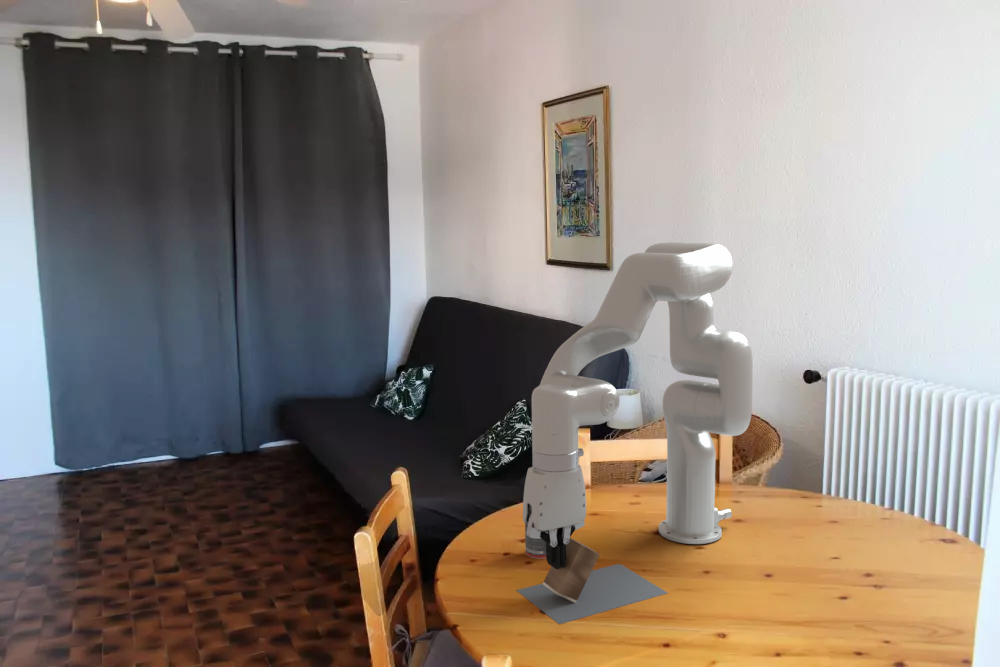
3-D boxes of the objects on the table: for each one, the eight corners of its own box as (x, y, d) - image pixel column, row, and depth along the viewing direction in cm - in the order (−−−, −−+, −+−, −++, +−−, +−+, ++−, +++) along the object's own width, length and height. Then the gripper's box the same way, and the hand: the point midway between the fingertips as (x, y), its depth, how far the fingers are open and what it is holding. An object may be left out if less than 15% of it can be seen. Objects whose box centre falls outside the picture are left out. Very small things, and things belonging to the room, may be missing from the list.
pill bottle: (552, 562, 159) (552, 512, 158) (523, 560, 160) (522, 510, 159) (556, 550, 165) (556, 501, 163) (528, 548, 166) (527, 500, 164)
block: (561, 592, 145) (585, 545, 146) (575, 603, 141) (600, 554, 142) (542, 584, 143) (566, 536, 144) (556, 594, 139) (581, 544, 140)
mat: (619, 566, 157) (619, 563, 156) (668, 596, 144) (668, 592, 144) (516, 593, 146) (516, 590, 146) (559, 627, 134) (559, 624, 134)
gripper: (580, 447, 145) (581, 548, 148) (504, 461, 138) (506, 567, 141) (605, 458, 139) (606, 564, 141) (527, 473, 132) (528, 584, 134)
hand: (556, 565), depth 141 cm, fingers closed
